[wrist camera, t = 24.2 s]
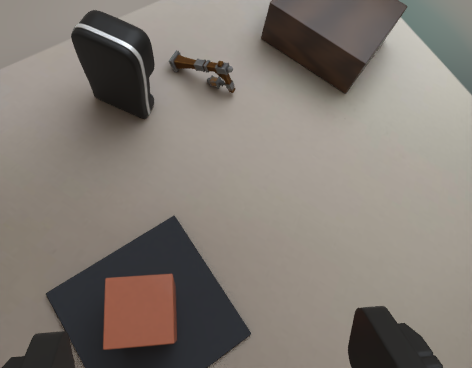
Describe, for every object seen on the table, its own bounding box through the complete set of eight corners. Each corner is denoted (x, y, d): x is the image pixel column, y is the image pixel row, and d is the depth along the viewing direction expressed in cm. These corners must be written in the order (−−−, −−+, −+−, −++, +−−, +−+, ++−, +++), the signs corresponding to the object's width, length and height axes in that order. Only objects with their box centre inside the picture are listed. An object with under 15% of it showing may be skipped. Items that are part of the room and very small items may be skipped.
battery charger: (162, 96, 46) (155, 27, 36) (147, 122, 45) (135, 57, 34) (109, 72, 46) (86, -4, 36) (92, 97, 45) (63, 26, 34)
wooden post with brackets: (237, 98, 46) (226, 69, 42) (182, 87, 50) (167, 59, 46) (243, 87, 47) (234, 57, 43) (189, 76, 50) (175, 48, 46)
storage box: (384, 40, 53) (408, 5, 48) (345, 94, 49) (365, 64, 44) (304, -11, 55) (318, -50, 49) (260, 38, 51) (269, 2, 45)
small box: (175, 285, 39) (172, 273, 30) (177, 340, 37) (174, 343, 29) (122, 289, 38) (104, 277, 29) (122, 345, 36) (102, 350, 28)
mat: (250, 333, 38) (251, 333, 38) (121, 431, 34) (120, 433, 34) (174, 216, 41) (174, 215, 41) (47, 293, 37) (45, 293, 37)
